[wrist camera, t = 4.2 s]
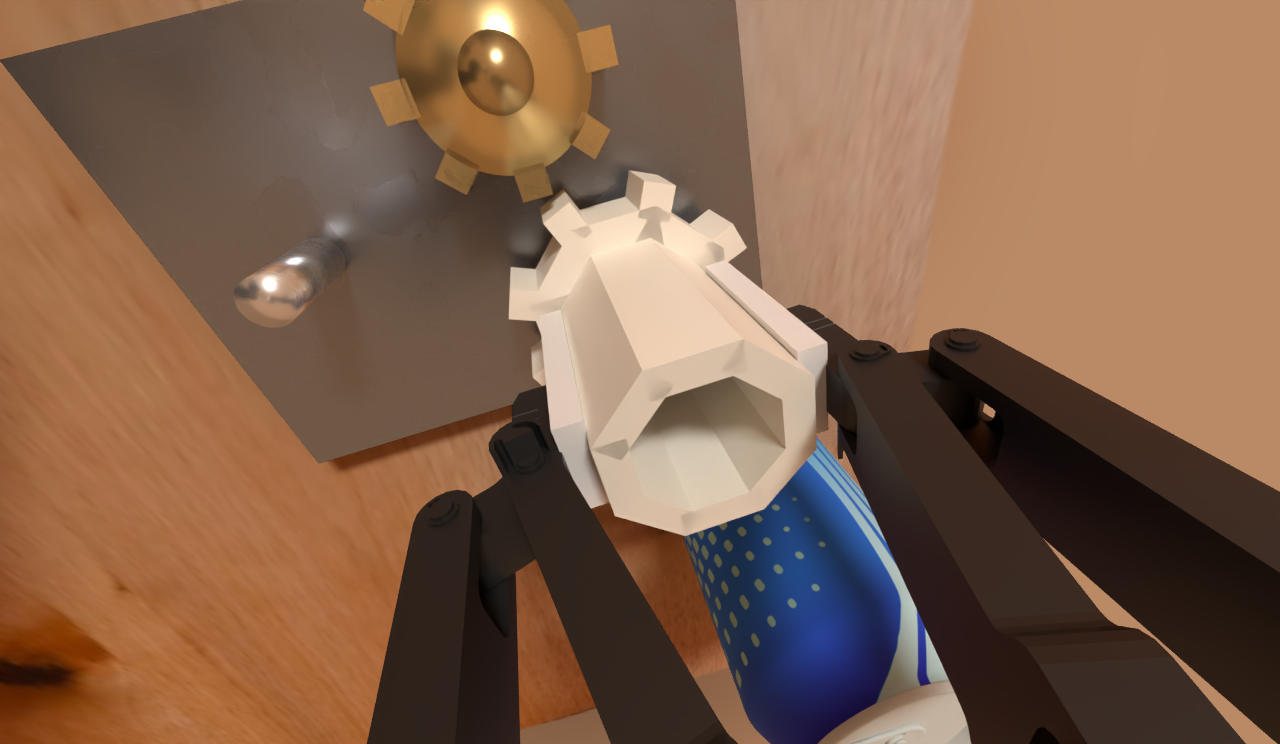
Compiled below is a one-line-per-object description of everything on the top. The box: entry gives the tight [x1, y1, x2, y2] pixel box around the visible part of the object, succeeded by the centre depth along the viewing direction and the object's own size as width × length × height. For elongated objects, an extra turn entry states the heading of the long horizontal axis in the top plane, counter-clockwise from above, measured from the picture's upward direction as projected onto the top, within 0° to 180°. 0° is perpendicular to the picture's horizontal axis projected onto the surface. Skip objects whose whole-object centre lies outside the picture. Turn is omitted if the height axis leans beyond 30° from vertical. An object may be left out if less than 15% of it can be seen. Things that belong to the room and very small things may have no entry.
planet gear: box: [509, 170, 817, 536], centre depth 15 cm, size 9×9×10 cm
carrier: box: [0, 0, 762, 463], centre depth 17 cm, size 22×16×6 cm
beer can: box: [682, 437, 971, 744], centre depth 22 cm, size 8×8×16 cm
